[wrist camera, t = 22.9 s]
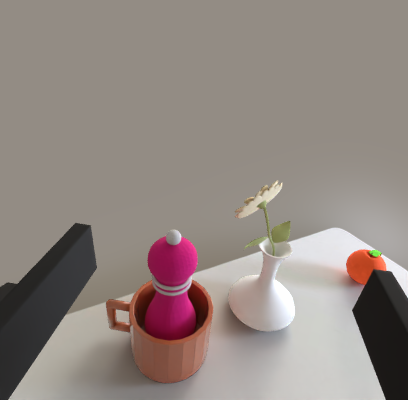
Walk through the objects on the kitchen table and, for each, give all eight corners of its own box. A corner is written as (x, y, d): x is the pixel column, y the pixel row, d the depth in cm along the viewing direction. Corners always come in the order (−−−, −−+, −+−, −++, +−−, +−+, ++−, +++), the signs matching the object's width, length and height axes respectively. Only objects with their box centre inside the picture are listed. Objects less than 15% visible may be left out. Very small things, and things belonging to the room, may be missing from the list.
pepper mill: (137, 331, 43) (131, 223, 33) (179, 311, 47) (185, 208, 37) (158, 374, 38) (158, 260, 28) (203, 347, 42) (217, 239, 32)
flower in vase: (270, 278, 56) (302, 161, 44) (306, 327, 47) (359, 197, 35) (209, 292, 52) (224, 166, 39) (235, 349, 43) (267, 209, 30)
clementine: (356, 262, 63) (368, 236, 59) (387, 283, 58) (402, 256, 54) (334, 274, 59) (345, 247, 55) (365, 298, 54) (380, 270, 50)
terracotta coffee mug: (211, 318, 47) (216, 281, 43) (202, 390, 37) (207, 352, 33) (124, 303, 48) (120, 266, 44) (93, 369, 39) (85, 330, 34)
